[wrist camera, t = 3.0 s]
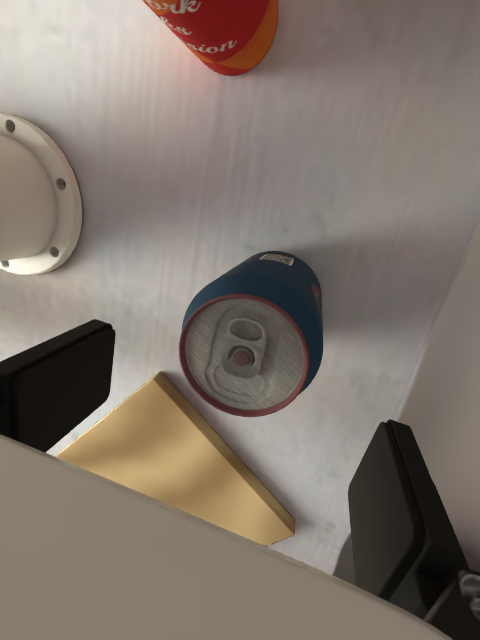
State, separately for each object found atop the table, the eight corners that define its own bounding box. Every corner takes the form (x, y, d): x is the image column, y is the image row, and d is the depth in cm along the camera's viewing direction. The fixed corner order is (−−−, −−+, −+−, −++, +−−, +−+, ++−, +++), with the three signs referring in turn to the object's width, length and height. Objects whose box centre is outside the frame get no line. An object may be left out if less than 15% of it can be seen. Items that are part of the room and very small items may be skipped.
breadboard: (60, 451, 36) (49, 461, 35) (160, 370, 29) (152, 378, 28) (176, 571, 38) (171, 585, 37) (296, 521, 31) (294, 535, 30)
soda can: (308, 345, 25) (301, 447, 14) (226, 324, 26) (159, 404, 15) (332, 259, 23) (345, 302, 12) (240, 240, 24) (173, 264, 13)
